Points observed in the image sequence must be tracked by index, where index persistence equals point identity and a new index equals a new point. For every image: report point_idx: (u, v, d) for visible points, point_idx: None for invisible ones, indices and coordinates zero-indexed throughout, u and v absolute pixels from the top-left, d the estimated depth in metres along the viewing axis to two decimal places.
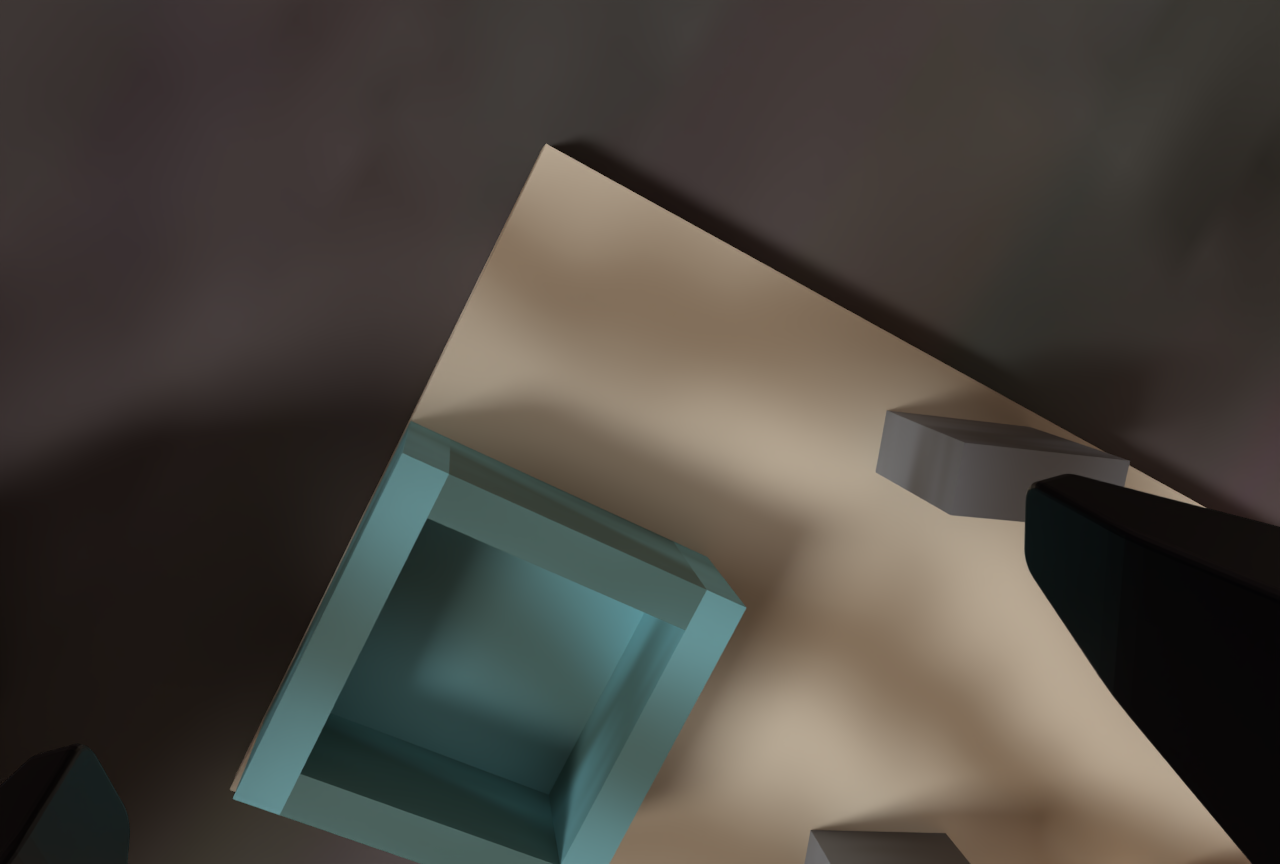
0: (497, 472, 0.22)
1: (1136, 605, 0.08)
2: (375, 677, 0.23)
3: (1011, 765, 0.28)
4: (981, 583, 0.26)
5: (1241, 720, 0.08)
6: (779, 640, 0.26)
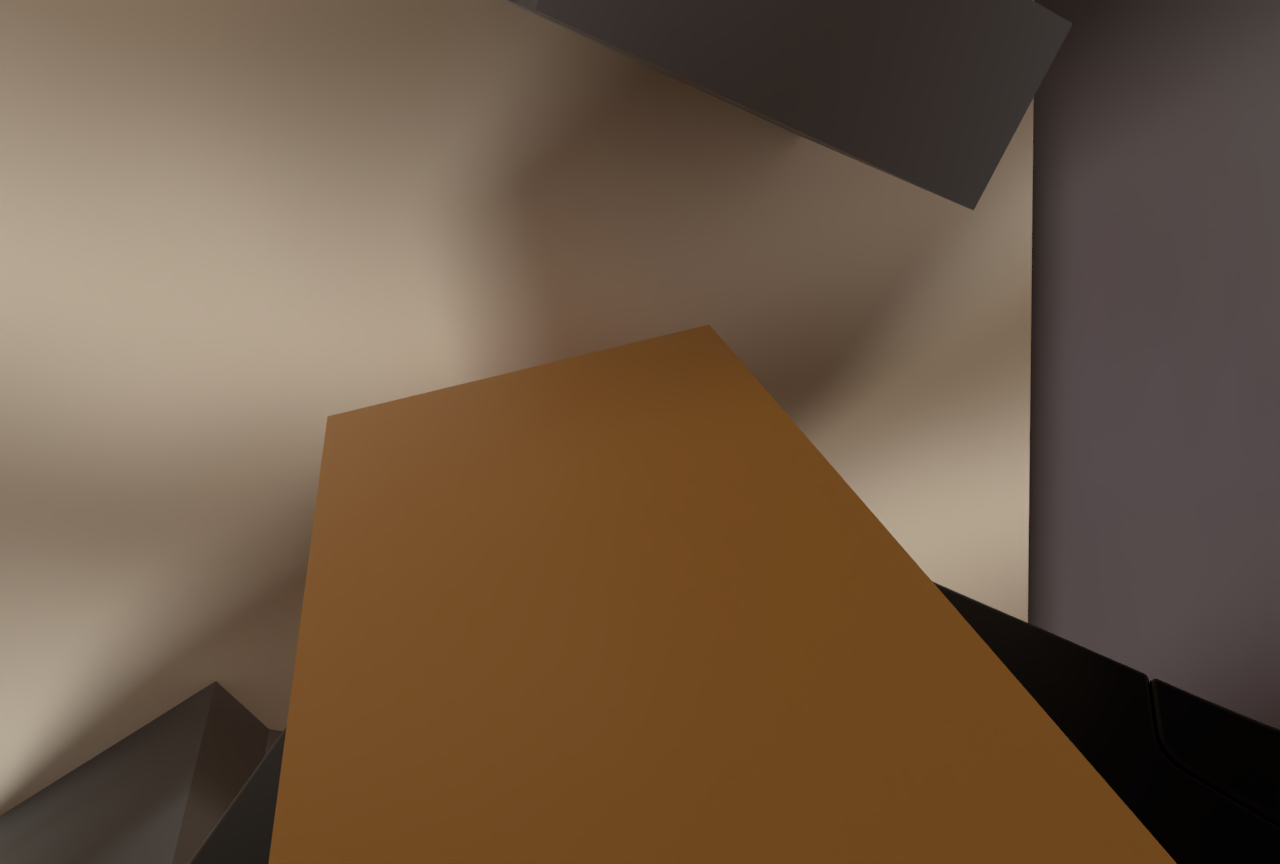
0: None
1: None
2: None
3: (206, 508, 0.12)
4: None
5: None
6: None
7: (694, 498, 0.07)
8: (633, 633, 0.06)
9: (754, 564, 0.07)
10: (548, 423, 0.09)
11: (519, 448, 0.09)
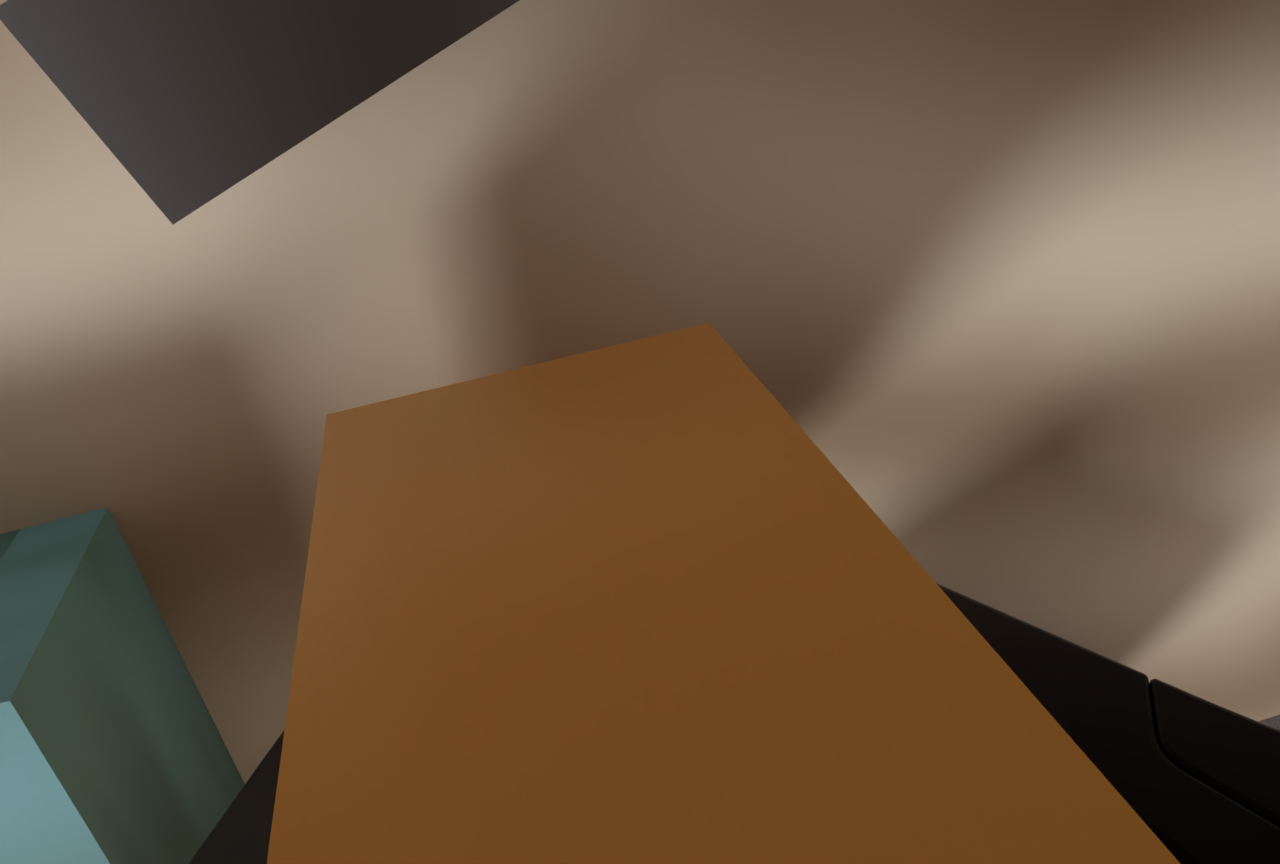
0: None
1: None
2: None
3: (950, 412, 0.14)
4: (652, 174, 0.12)
5: None
6: None
7: (693, 497, 0.07)
8: (631, 632, 0.06)
9: (754, 560, 0.07)
10: (548, 421, 0.09)
11: (518, 446, 0.09)
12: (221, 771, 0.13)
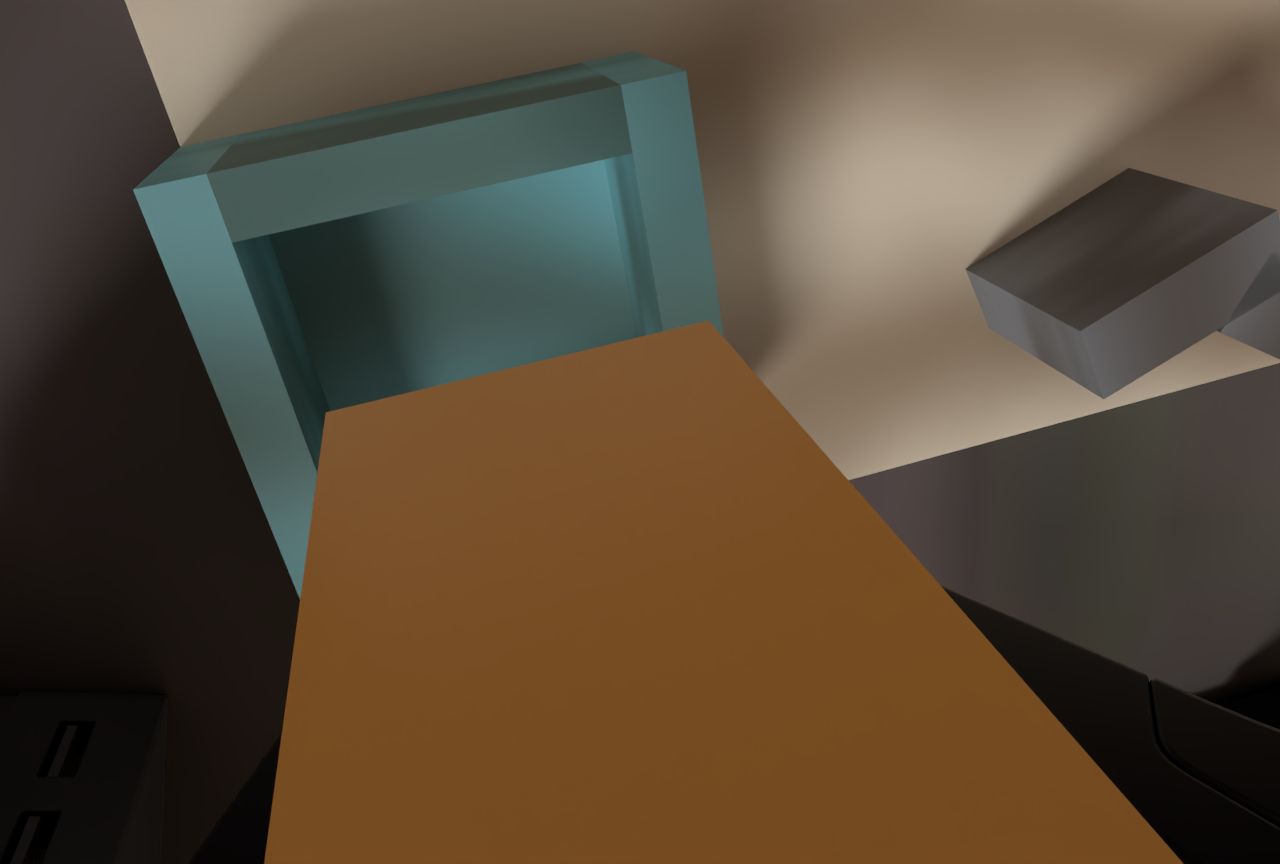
0: (301, 132, 0.16)
1: None
2: None
3: (1171, 34, 0.20)
4: None
5: None
6: (790, 87, 0.19)
7: (692, 494, 0.07)
8: (631, 627, 0.06)
9: (753, 558, 0.07)
10: (547, 419, 0.09)
11: (518, 444, 0.09)
12: None
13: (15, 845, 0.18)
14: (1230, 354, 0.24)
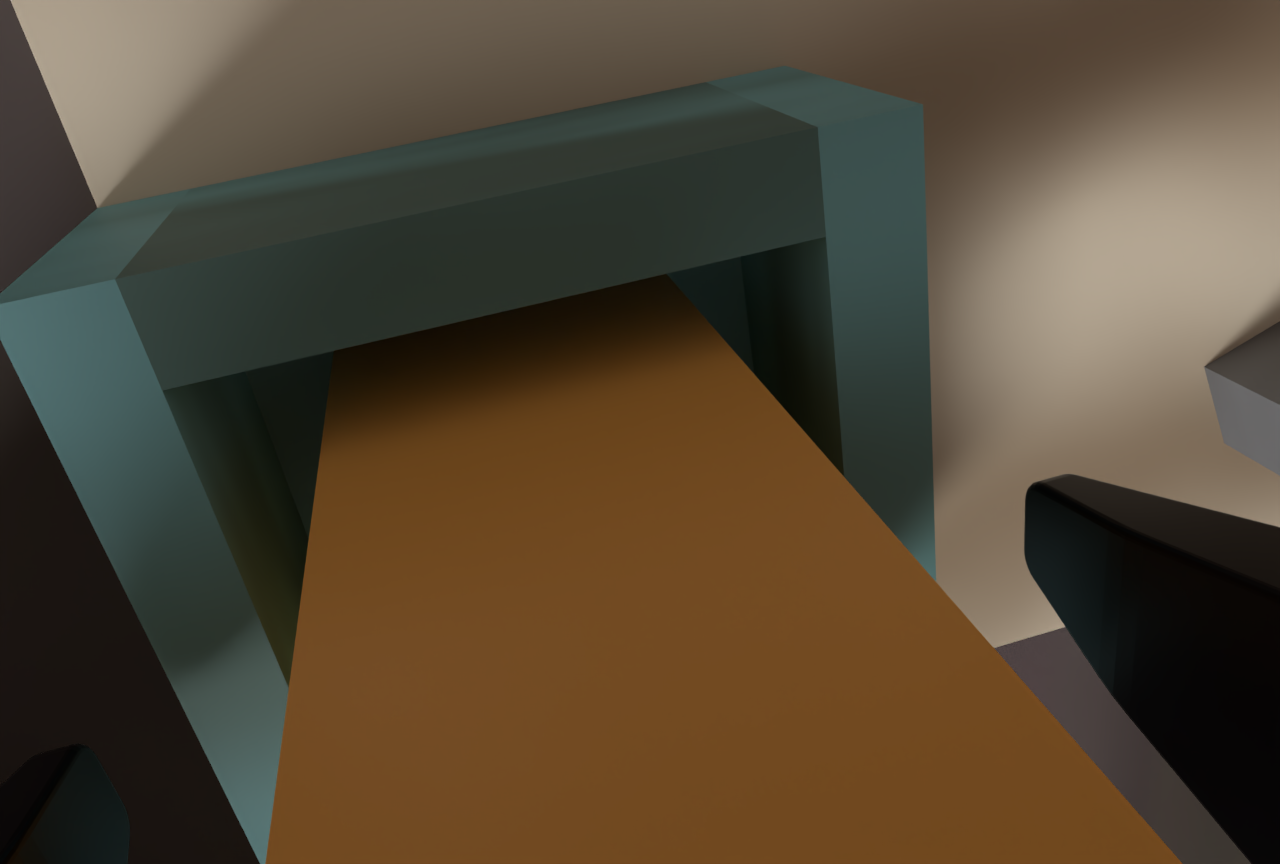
0: (283, 191, 0.10)
1: (1136, 605, 0.08)
2: None
3: None
4: None
5: (1241, 720, 0.08)
6: (999, 119, 0.13)
7: (636, 396, 0.09)
8: (580, 488, 0.08)
9: (678, 439, 0.08)
10: (521, 348, 0.11)
11: (496, 366, 0.10)
12: None
13: None
14: None
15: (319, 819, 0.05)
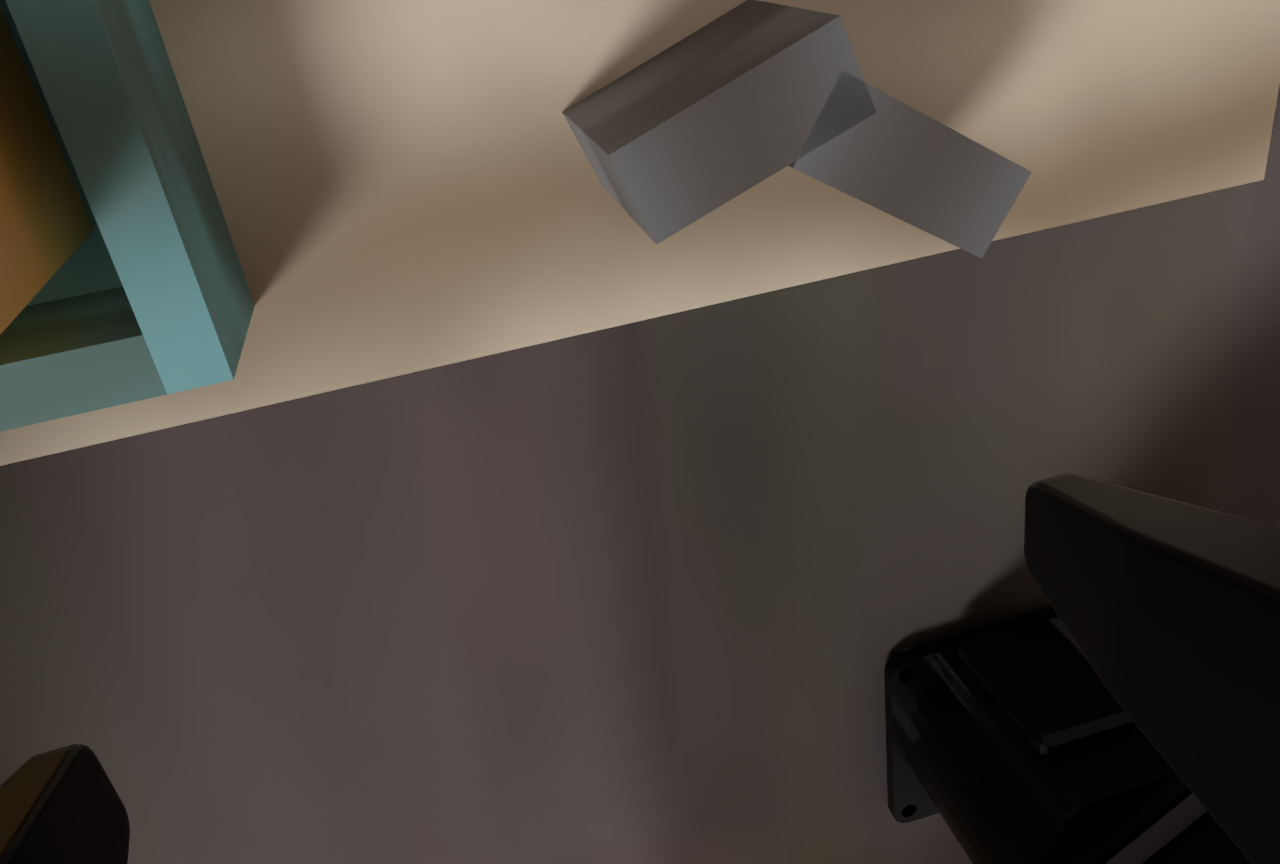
0: None
1: (1136, 605, 0.08)
2: None
3: None
4: None
5: (1241, 720, 0.08)
6: None
7: None
8: None
9: None
10: None
11: None
12: (171, 82, 0.16)
13: None
14: (903, 234, 0.21)
15: None
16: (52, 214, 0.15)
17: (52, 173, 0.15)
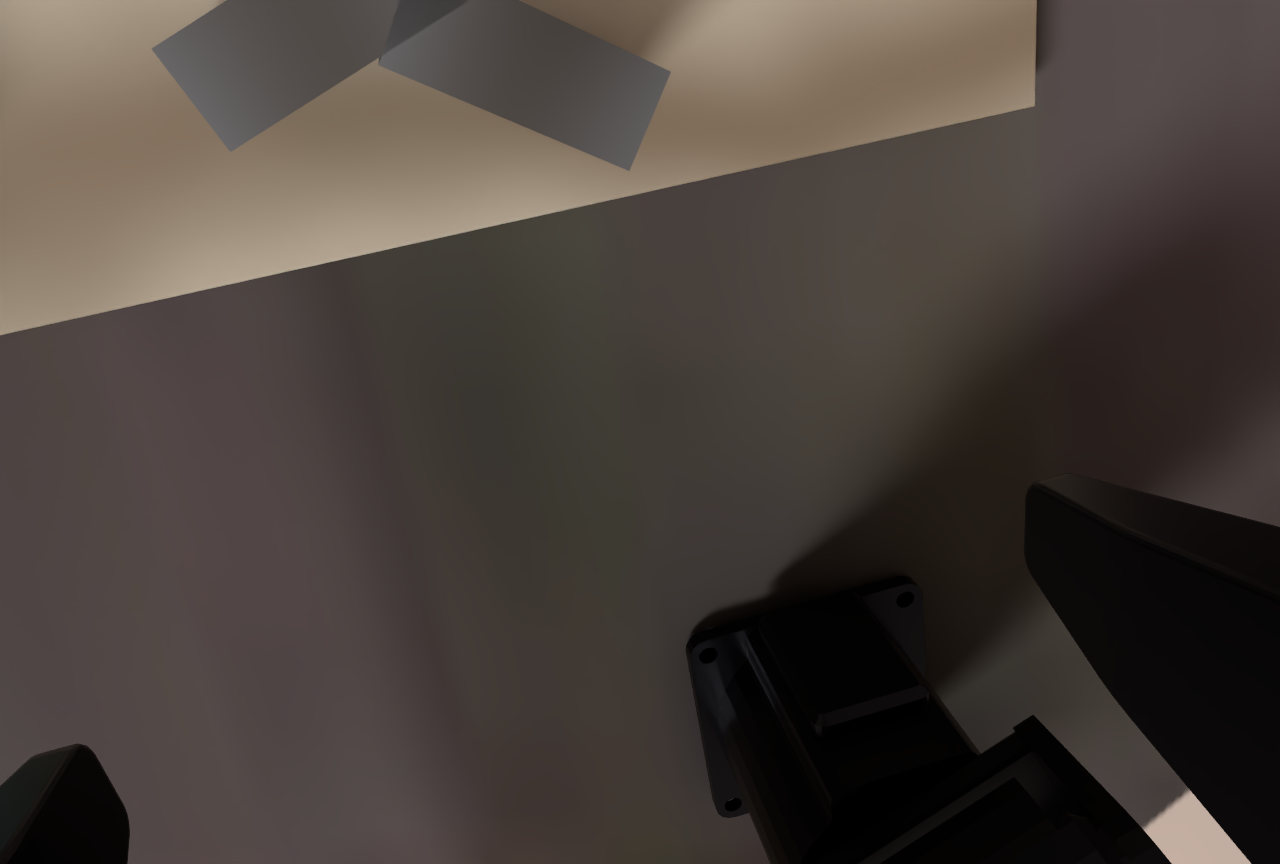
0: None
1: (1136, 605, 0.08)
2: None
3: None
4: None
5: (1241, 720, 0.08)
6: None
7: None
8: None
9: None
10: None
11: None
12: None
13: None
14: (620, 167, 0.20)
15: None
16: None
17: None
